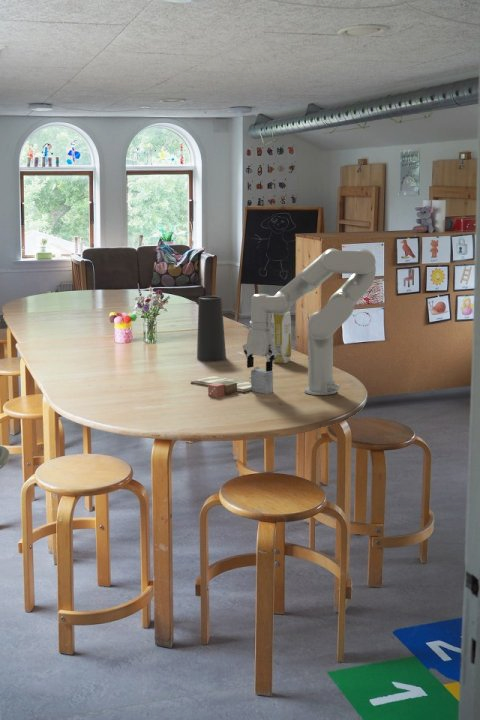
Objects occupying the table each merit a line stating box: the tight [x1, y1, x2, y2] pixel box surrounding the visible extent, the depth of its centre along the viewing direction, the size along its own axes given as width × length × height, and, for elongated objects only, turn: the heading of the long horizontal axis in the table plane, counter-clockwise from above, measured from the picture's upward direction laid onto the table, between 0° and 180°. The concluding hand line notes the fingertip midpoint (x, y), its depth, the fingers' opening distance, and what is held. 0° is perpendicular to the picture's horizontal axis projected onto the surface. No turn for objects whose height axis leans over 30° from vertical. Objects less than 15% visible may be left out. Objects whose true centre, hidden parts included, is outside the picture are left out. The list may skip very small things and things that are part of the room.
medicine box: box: [250, 368, 274, 395], centre depth 347 cm, size 8×4×9 cm, turn 47°
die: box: [207, 383, 226, 398], centre depth 343 cm, size 4×4×4 cm
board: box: [190, 375, 252, 395], centre depth 359 cm, size 29×13×1 cm, turn 48°
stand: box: [219, 381, 238, 396], centre depth 346 cm, size 6×6×4 cm
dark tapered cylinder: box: [196, 295, 227, 362], centre depth 413 cm, size 14×14×29 cm
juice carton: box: [270, 311, 292, 364], centre depth 403 cm, size 9×8×24 cm
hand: (259, 369), depth 346 cm, fingers open, 9 cm apart
